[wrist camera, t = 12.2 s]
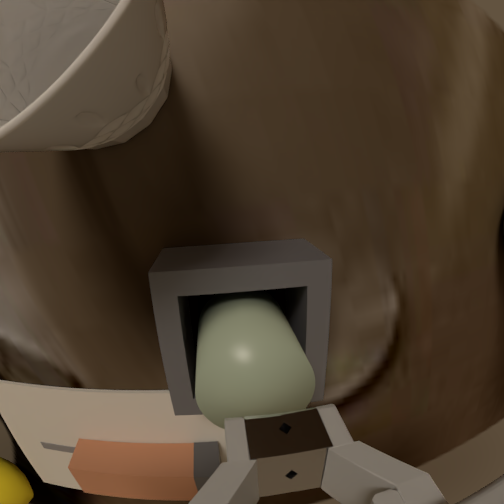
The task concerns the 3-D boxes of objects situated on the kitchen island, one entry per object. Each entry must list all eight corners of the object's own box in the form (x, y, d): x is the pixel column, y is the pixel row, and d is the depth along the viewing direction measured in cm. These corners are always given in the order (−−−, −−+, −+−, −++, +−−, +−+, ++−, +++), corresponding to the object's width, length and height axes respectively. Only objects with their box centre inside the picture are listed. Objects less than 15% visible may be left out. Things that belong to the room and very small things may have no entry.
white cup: (173, 163, 15) (108, 147, 5) (32, 161, 13) (-114, 167, 4) (195, 17, 13) (187, -125, 3) (57, 25, 12) (-40, -60, 2)
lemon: (34, 459, 19) (23, 504, 14) (41, 487, 20) (34, 527, 15) (-29, 434, 16) (-46, 473, 11) (-17, 465, 17) (-29, 502, 12)
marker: (92, 464, 18) (84, 493, 15) (78, 437, 17) (67, 468, 14) (222, 467, 19) (225, 500, 16) (217, 441, 18) (220, 476, 15)
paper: (44, 479, 19) (43, 482, 18) (-15, 377, 16) (-17, 380, 15) (239, 492, 21) (239, 496, 20) (226, 387, 18) (226, 390, 17)
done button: (203, 365, 15) (203, 437, 10) (193, 289, 14) (187, 347, 9) (284, 357, 15) (311, 425, 11) (284, 282, 14) (318, 334, 10)
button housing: (180, 369, 17) (175, 415, 13) (162, 248, 15) (147, 272, 12) (302, 357, 18) (323, 400, 14) (304, 238, 16) (332, 259, 12)
